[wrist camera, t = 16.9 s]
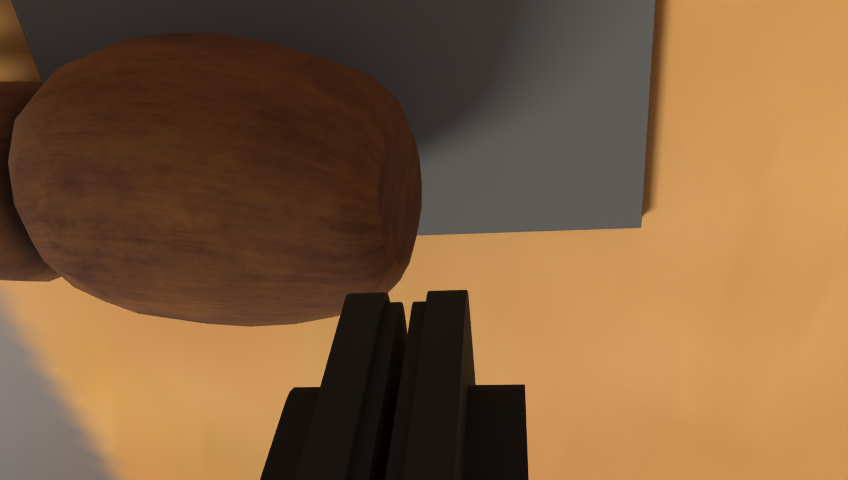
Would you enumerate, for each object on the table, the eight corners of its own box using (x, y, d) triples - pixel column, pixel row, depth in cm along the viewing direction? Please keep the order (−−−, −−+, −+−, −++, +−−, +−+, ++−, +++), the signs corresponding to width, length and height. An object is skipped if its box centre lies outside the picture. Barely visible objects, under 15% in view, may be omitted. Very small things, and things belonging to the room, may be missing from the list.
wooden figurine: (368, -29, 13) (-284, 1, 17) (324, 308, 12) (-371, 258, 16) (448, 124, 19) (-37, 120, 23) (426, 353, 18) (-85, 310, 22)
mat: (655, -56, 17) (658, -51, 16) (639, 219, 20) (641, 227, 20) (20, -5, 19) (11, 0, 18) (110, 238, 22) (104, 245, 22)
